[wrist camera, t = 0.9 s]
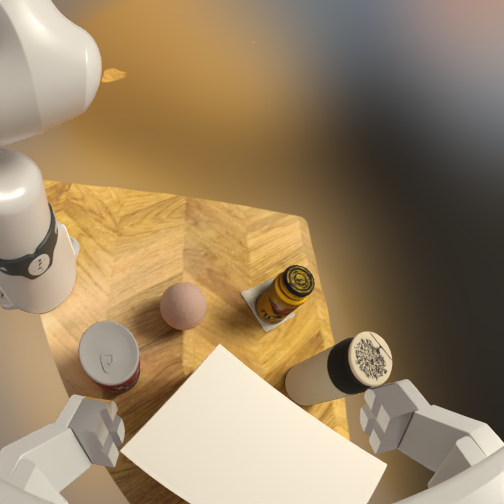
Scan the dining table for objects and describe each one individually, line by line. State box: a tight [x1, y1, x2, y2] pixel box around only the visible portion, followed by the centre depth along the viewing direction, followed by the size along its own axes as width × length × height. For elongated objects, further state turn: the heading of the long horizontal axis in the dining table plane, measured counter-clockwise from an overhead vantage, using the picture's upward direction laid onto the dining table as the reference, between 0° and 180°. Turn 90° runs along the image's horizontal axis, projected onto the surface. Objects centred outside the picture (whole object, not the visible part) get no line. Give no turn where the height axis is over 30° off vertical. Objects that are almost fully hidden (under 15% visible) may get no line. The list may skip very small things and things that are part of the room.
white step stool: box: [120, 344, 387, 504], centre depth 30 cm, size 26×15×17 cm, turn 54°
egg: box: [160, 283, 206, 330], centre depth 44 cm, size 7×7×8 cm
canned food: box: [79, 321, 140, 393], centre depth 34 cm, size 8×8×11 cm
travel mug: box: [285, 332, 392, 406], centre depth 41 cm, size 8×8×18 cm
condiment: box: [241, 265, 315, 332], centre depth 49 cm, size 7×8×12 cm
